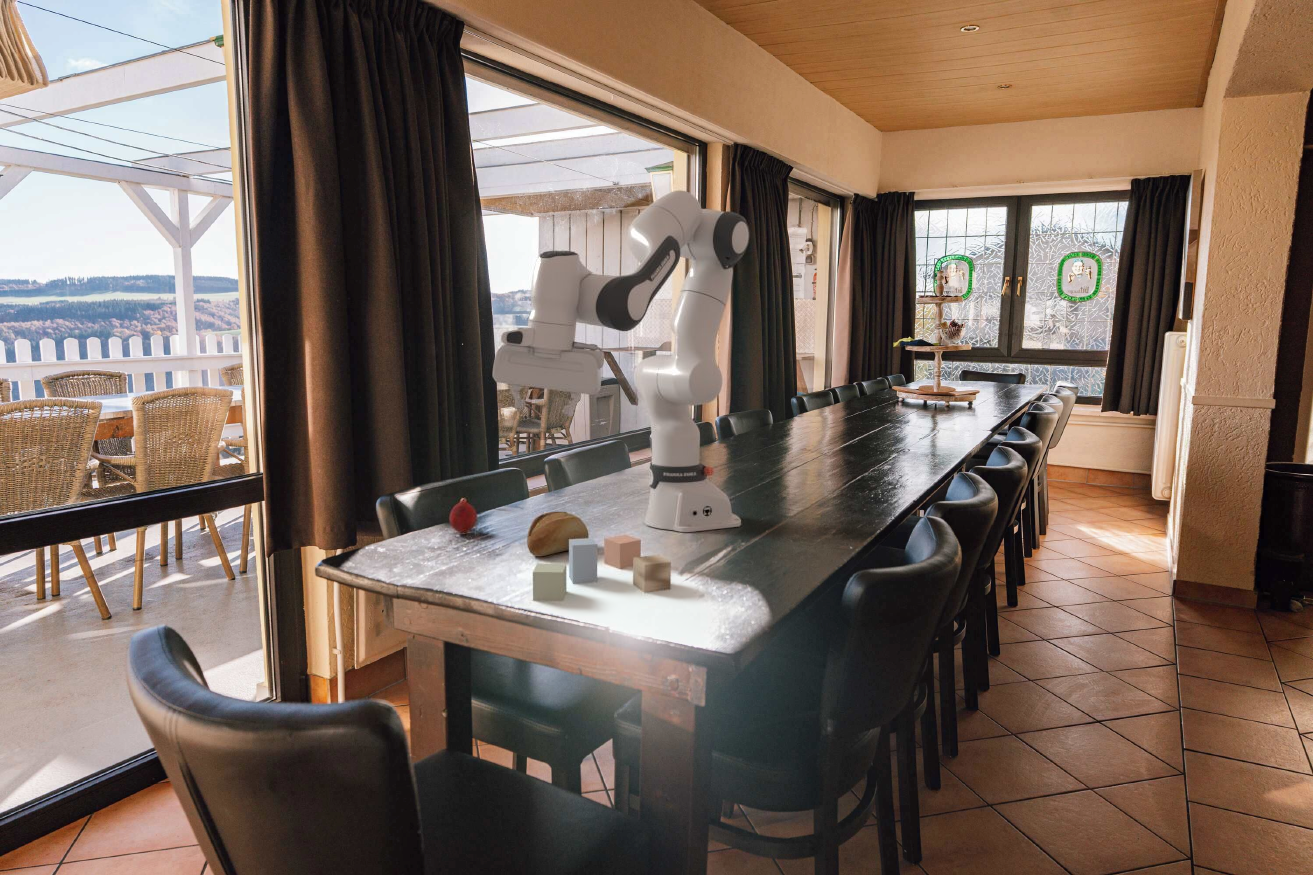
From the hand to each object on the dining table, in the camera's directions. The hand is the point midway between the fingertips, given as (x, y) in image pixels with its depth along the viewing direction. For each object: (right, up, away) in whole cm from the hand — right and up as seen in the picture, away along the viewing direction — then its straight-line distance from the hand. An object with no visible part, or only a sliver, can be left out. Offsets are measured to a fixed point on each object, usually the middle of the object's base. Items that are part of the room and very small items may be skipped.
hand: (543, 412), depth 155 cm
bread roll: (+1, -28, +13) cm, 31 cm away
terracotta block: (+15, -29, +4) cm, 33 cm away
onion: (-21, -26, +26) cm, 42 cm away
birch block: (+20, -31, -10) cm, 38 cm away
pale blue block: (+8, -30, -6) cm, 32 cm away
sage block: (+3, -32, -15) cm, 35 cm away
